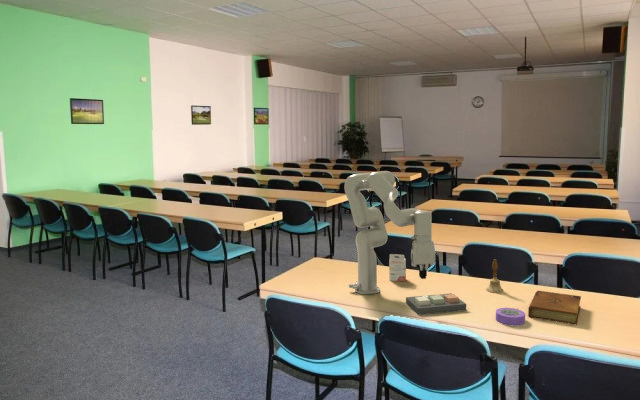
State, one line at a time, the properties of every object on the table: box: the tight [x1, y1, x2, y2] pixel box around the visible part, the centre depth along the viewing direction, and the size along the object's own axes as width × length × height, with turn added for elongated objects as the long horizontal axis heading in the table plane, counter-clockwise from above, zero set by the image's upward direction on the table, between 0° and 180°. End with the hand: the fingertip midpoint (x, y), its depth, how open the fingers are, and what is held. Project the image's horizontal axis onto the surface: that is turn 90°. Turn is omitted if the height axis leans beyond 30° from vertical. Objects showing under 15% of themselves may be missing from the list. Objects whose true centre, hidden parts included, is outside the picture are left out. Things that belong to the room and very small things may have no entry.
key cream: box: [414, 296, 430, 306], centre depth 225 cm, size 5×5×2 cm
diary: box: [527, 290, 582, 326], centre depth 219 cm, size 23×19×6 cm
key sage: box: [429, 294, 444, 304], centre depth 227 cm, size 5×5×2 cm
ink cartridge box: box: [388, 253, 407, 282], centre depth 269 cm, size 9×5×15 cm, turn 73°
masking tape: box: [495, 307, 526, 327], centre depth 211 cm, size 12×12×4 cm
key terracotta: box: [444, 293, 460, 303], centre depth 228 cm, size 5×5×2 cm
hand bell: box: [485, 258, 504, 294], centre depth 248 cm, size 8×8×16 cm
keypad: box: [405, 292, 467, 316], centre depth 228 cm, size 23×15×4 cm, turn 100°
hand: (422, 278), depth 224 cm, fingers closed
